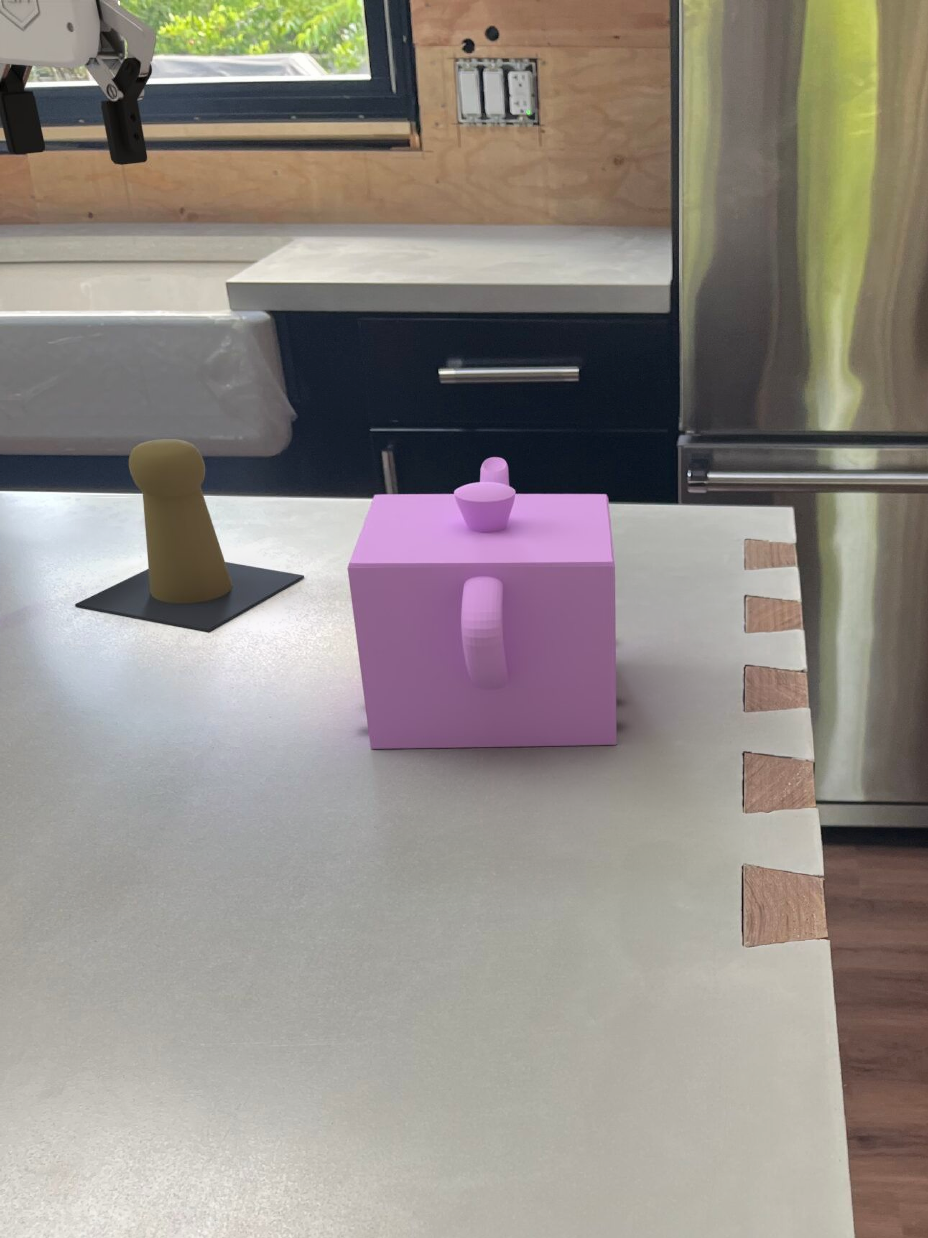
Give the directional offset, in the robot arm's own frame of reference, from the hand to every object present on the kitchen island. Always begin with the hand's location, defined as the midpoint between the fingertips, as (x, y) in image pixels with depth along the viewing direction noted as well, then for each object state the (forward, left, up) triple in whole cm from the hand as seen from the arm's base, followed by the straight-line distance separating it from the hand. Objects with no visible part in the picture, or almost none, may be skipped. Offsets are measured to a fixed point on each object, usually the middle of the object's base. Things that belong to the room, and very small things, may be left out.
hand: (78, 158), depth 99 cm
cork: (+14, -13, -28) cm, 33 cm away
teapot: (+44, -20, -28) cm, 55 cm away
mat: (+14, -13, -28) cm, 33 cm away
